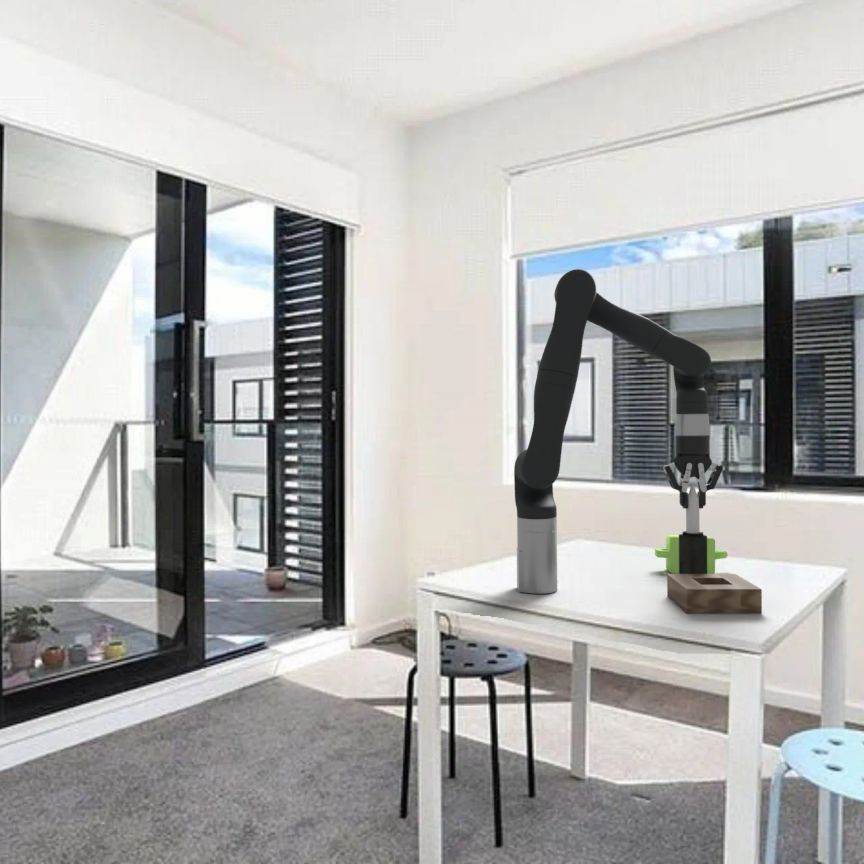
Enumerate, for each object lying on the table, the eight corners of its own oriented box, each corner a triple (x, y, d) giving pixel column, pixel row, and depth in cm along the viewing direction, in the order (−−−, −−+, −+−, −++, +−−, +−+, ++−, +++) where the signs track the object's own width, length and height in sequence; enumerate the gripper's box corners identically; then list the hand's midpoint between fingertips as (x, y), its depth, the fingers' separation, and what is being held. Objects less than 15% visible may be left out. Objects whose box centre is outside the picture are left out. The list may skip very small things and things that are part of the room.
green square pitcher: (722, 570, 197) (722, 534, 197) (733, 576, 187) (733, 538, 187) (653, 568, 199) (653, 532, 199) (660, 574, 189) (660, 536, 189)
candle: (677, 588, 174) (676, 482, 173) (694, 586, 176) (693, 481, 175) (691, 593, 169) (691, 483, 169) (709, 591, 171) (709, 482, 170)
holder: (686, 613, 152) (686, 589, 152) (667, 596, 167) (667, 573, 167) (761, 613, 151) (761, 589, 151) (735, 596, 166) (735, 573, 166)
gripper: (665, 434, 168) (666, 510, 169) (728, 433, 168) (729, 510, 168) (657, 433, 176) (658, 506, 176) (717, 433, 175) (718, 506, 175)
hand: (692, 507), depth 172 cm, fingers closed on candle, 3 cm apart
